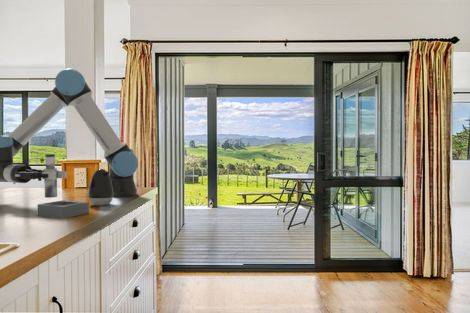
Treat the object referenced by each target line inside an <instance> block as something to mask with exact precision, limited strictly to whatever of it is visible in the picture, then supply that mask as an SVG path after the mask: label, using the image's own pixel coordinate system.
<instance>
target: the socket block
mask: <svg viewBox="0 0 470 313" xmlns="http://www.w3.org/2000/svg"><path fill="white" fill-rule="evenodd" d="M89 212H90V201H80V200H68V199H63V200H58V201H51V202H44V203H39V204H37V216H38V217H47V218H54V219H55V218H56V219H68V218H71V217H77V216H80V215H81V216H82V215H84V214H89Z"/></svg>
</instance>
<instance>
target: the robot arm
mask: <svg viewBox="0 0 470 313" xmlns="http://www.w3.org/2000/svg"><path fill="white" fill-rule="evenodd" d="M54 84H55V87H54V88H52V90H51V91H50V93H49V94H50V95H49V96H48V97H47V98H46V99H44V101H43V102H42V103H41V104H39V106H38V107H37V108H36V109H34V110H33V112H32V113H30V114H29V116H28V117H26V118H25V120H23V121H22V122H21V123H20V124H19V125H18V126H16V128H15V129H14V130H13V131H12V132H11V133H10V134H9V135H0V183H13V185H16V184H28V183H29V182H30V181H31V180H37V181H38V182H41V181H42V180H44V179H51V180H56V172H44V169H36V168H32V167H31V166H30V165H29V164H18V163H14V157H15V156H16V155H17V154H18V153H19V152H20V150H22V148H23V147H25V145H26V144H27V143H28V142H29V141H31V139H33V137H34V136H35V135H36V134H37V133H39V131H41V129H43V128H44V127H45V126H46V125H47V124H48V123H49V122H50V121H51V120H52V119H53V118H54V117H55V116H56V115H57V114H59V112H60V111H62V109H63V108H64V107H68V106H70V107H71V106H72V107H73V108H74V109H75V110H76V112H77V113H78V115H79V116H80V118H81V119H82V121H83V122H84V124H85V125H86V126H87V128H88V129H89V131H90V132H91V134H92V136H93V137H94V138H95V140H96V141H97V142H98V144H99V146H100V147H101V148H102V150H103V151H104V155H103V158H104V159H105V160H106V162H107V163H108V166H109V168H108V170H109V176H110V179H111V182H112V186H113V191H114V196H113V198H114V197H115V198H116V197H120V198H121V197H132V196H136V195H138V190H137V187H136V183H135V179H134V174H135V172H137V169H138V167H139V159H138V157H137V156H136V154H135V153H134V150H133V149H132V148H129V146H128V144H127V143H126V142H123V141H121V140H120V138H119V137H118V135H117V133H116V132H115V131H114V129H113V127H112V126H111V125H110V123H109V122H108V120H107V119H106V116H105V115H104V114H103V113H102V111H101V109H100V108H99V106H98V105H97V104H96V102H95V100H94V99H93V98H92V94H93V91H92V90H91V88H90V86H89V85H88V83H87V82H86V80H85V77H84V76H83V74H82V73H81V72H79V71H78V70H77V69H73V68H66V69H62V70H60V71H59V72H58V73H57V74H56V76H55V79H54ZM57 179H68V171H67V170H65V171H63V170H57Z"/></svg>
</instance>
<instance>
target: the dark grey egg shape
mask: <svg viewBox="0 0 470 313" xmlns="http://www.w3.org/2000/svg"><path fill="white" fill-rule="evenodd" d="M87 198H88V199H89V203H90V204H91V205H93V206H97V207H103V206H107V205H109V204H111V203H112V201H113V199H114V191H113V186H112V182H111V179H110V176H109V171H108V170H106V169H104V168H99V169H96V170H95V172H93V174H92V177H91V178H90V182H89V186H88V191H87Z"/></svg>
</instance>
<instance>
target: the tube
mask: <svg viewBox="0 0 470 313" xmlns="http://www.w3.org/2000/svg"><path fill="white" fill-rule="evenodd" d="M43 170H44V172H56V180H51V179H43V180H44V198H48V199H49V198H50V199H51V198H57V197H58V178H57V168H56V154H55V153H52V154H51V153H50V154H49V153H47V154H45V168H44V169H43Z"/></svg>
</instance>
